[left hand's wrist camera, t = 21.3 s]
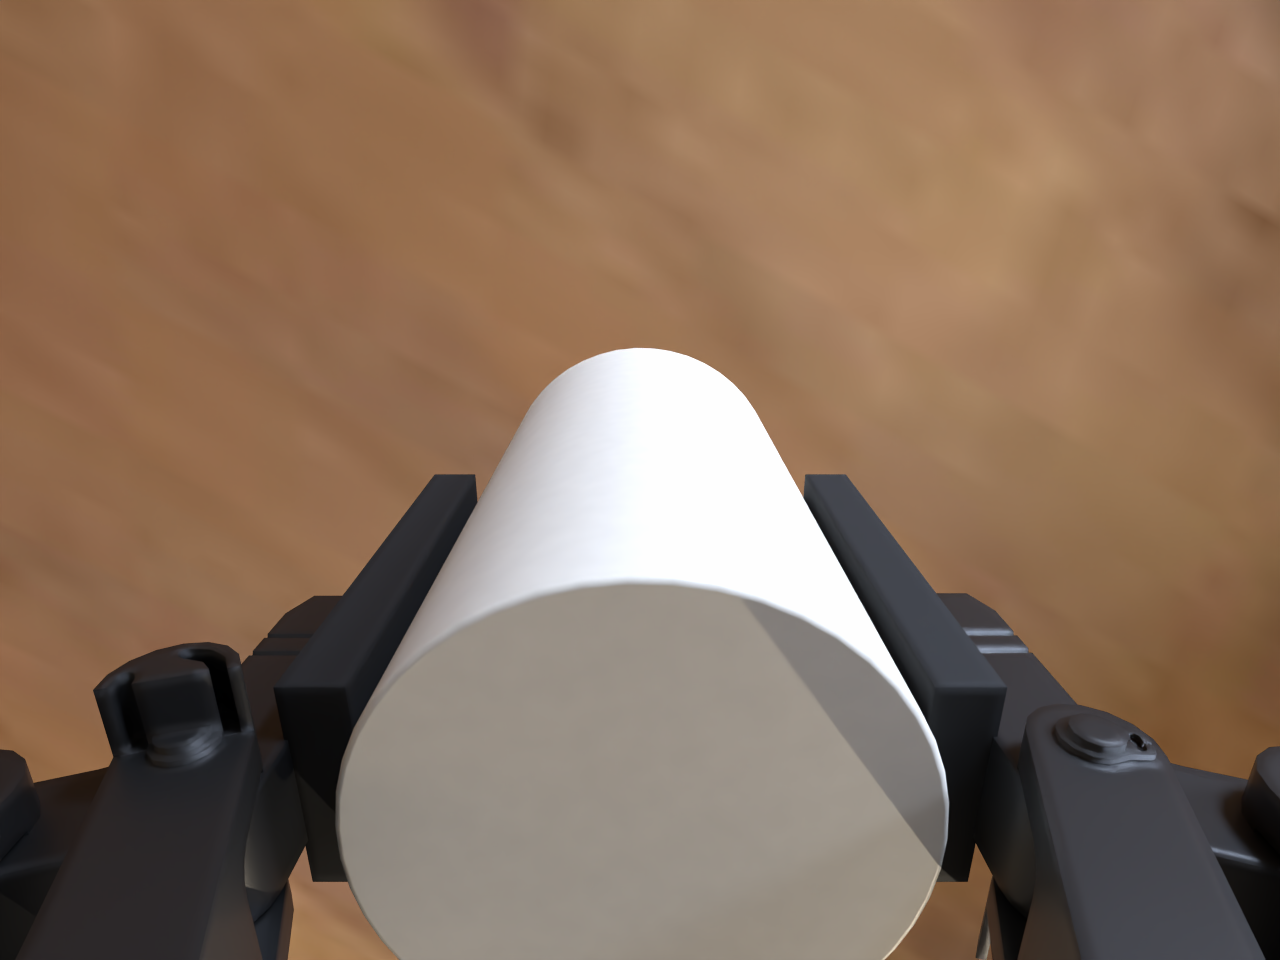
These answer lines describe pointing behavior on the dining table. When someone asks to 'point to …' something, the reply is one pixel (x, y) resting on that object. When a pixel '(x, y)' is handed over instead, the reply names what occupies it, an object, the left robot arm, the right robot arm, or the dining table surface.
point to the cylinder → (641, 708)
